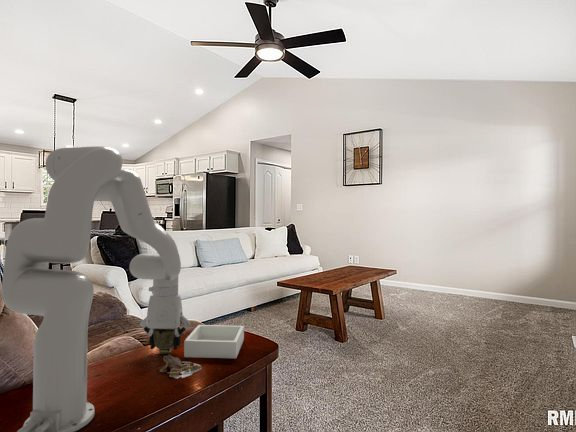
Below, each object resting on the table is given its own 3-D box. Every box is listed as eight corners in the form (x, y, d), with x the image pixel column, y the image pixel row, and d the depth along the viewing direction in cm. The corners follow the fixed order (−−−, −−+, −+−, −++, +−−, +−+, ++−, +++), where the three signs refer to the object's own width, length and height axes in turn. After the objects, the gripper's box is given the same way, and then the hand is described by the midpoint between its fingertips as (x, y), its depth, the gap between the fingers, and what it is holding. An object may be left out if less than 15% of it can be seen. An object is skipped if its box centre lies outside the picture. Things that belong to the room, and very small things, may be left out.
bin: (236, 358, 109) (236, 342, 109) (184, 357, 109) (184, 340, 109) (243, 340, 125) (244, 325, 125) (198, 339, 125) (198, 324, 125)
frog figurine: (145, 375, 98) (145, 361, 98) (177, 359, 109) (178, 347, 109) (176, 385, 93) (177, 370, 93) (207, 367, 103) (207, 354, 103)
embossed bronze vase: (181, 349, 116) (181, 324, 116) (171, 358, 109) (172, 331, 109) (158, 347, 117) (159, 323, 117) (147, 356, 109) (148, 330, 109)
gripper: (133, 293, 109) (132, 351, 109) (189, 294, 109) (188, 353, 109) (143, 288, 117) (142, 343, 117) (196, 289, 116) (195, 344, 116)
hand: (164, 347), depth 113 cm, fingers closed on embossed bronze vase, 6 cm apart
